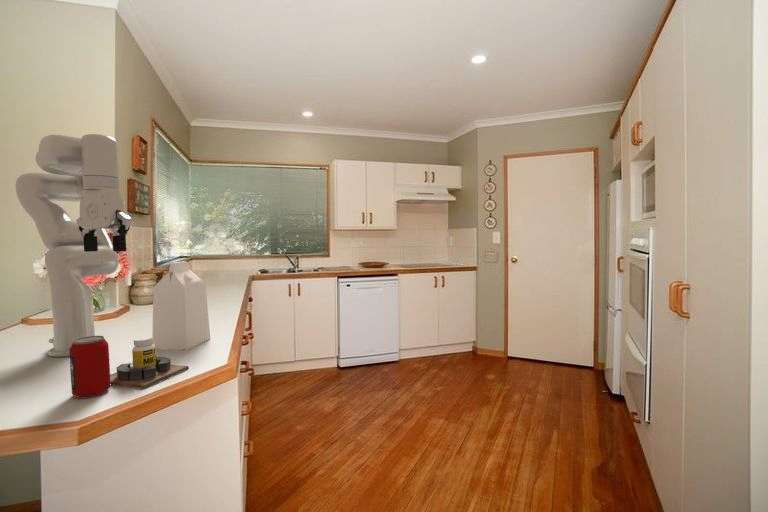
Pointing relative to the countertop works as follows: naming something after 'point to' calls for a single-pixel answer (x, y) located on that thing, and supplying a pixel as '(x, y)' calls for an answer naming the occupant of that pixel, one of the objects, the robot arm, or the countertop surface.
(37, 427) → the countertop surface
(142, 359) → the supplement bottle
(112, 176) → the robot arm
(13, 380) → the countertop surface
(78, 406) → the countertop surface
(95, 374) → the beverage can
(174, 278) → the milk
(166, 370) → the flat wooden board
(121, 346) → the countertop surface
